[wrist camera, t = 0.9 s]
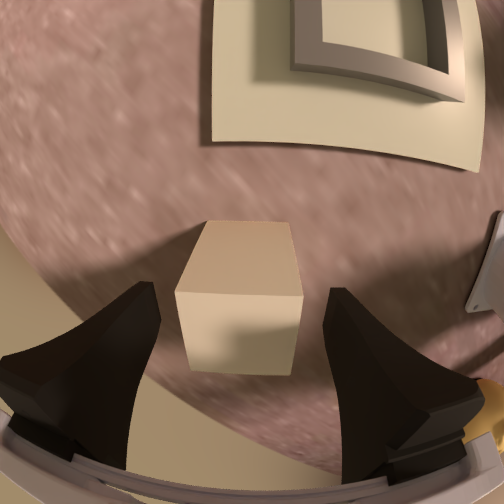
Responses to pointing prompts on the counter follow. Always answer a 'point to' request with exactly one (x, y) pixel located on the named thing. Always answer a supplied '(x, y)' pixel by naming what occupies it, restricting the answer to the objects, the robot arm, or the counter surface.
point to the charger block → (241, 299)
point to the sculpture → (488, 415)
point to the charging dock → (352, 75)
